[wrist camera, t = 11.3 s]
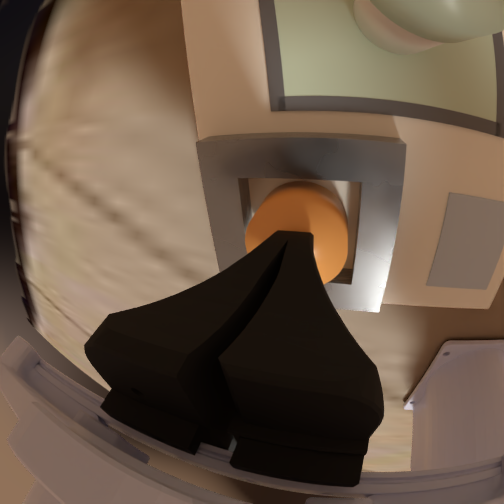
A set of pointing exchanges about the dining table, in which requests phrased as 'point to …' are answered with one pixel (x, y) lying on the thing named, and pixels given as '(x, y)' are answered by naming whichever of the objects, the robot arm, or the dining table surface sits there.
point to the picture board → (369, 127)
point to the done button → (304, 222)
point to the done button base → (317, 168)
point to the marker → (426, 22)
